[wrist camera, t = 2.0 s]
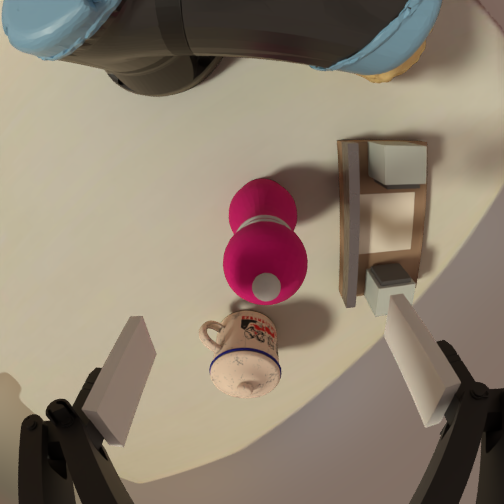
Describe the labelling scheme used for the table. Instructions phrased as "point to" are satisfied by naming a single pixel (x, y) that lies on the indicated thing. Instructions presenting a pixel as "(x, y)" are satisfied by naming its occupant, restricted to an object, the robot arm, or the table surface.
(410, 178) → the block
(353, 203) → the steel rail bar
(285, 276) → the pepper mill
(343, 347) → the table surface
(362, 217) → the wooden frame tray
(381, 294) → the finger block
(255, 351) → the teacup with lid
